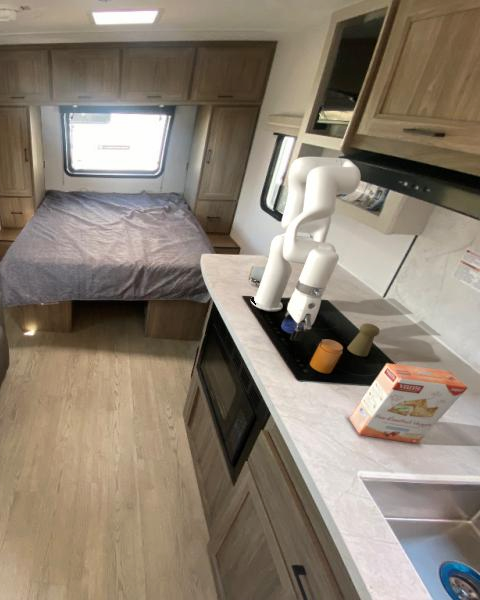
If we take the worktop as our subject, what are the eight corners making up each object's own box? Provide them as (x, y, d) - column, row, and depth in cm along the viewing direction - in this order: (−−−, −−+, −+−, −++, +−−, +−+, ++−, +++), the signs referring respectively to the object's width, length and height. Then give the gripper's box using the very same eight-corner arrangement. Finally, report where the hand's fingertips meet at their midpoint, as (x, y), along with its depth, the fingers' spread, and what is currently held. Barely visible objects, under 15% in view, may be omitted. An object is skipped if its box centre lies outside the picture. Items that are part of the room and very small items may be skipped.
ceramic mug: (248, 276, 169) (252, 262, 165) (266, 280, 165) (270, 266, 161) (246, 284, 161) (250, 270, 157) (264, 288, 157) (269, 274, 153)
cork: (359, 357, 114) (374, 332, 109) (343, 347, 119) (356, 322, 114) (372, 354, 116) (387, 329, 110) (355, 344, 121) (369, 319, 115)
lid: (282, 332, 109) (284, 328, 109) (279, 321, 115) (281, 317, 114) (306, 337, 107) (308, 332, 106) (302, 326, 113) (304, 321, 112)
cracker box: (359, 436, 86) (400, 378, 76) (347, 418, 92) (384, 361, 81) (419, 446, 84) (470, 387, 74) (404, 426, 90) (449, 369, 79)
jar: (306, 359, 113) (317, 337, 108) (326, 361, 112) (338, 339, 107) (314, 371, 108) (326, 349, 103) (335, 374, 107) (348, 352, 102)
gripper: (336, 302, 95) (313, 350, 104) (311, 277, 110) (293, 321, 119) (308, 300, 96) (288, 347, 105) (287, 275, 111) (270, 318, 120)
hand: (290, 333), depth 112 cm, fingers closed on lid, 7 cm apart
